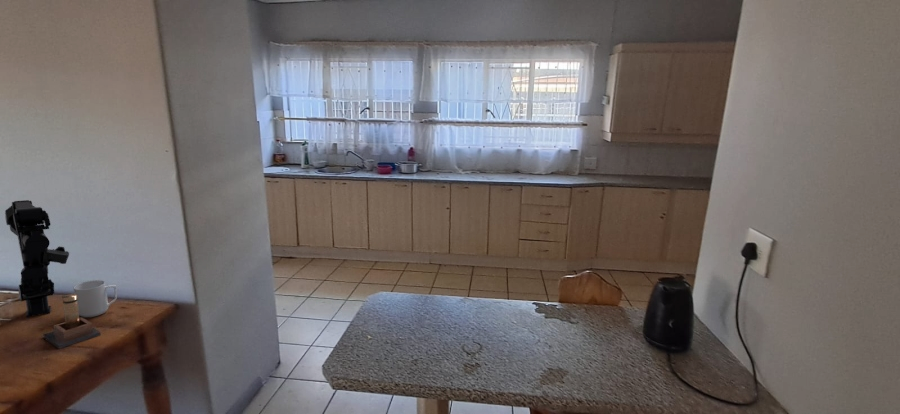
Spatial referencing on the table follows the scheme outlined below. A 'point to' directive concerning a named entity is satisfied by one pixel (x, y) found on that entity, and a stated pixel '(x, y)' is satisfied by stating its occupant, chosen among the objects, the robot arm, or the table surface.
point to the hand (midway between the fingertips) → (39, 288)
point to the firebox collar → (71, 334)
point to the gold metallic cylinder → (71, 311)
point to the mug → (93, 298)
